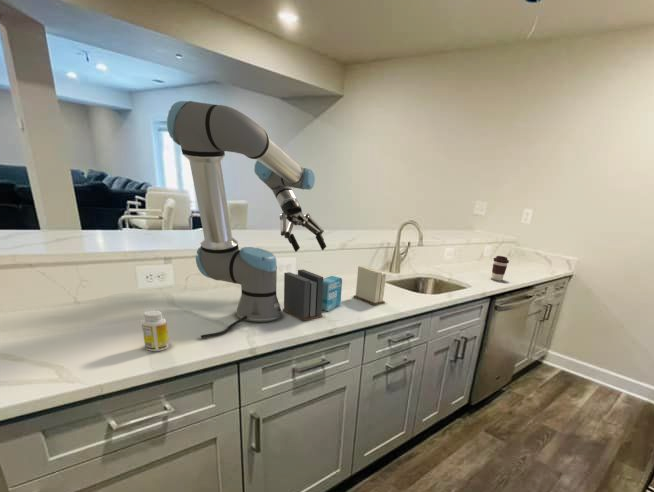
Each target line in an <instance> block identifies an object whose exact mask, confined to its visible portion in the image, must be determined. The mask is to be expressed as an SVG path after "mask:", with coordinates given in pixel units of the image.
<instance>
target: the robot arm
mask: <svg viewBox="0 0 654 492" xmlns="http://www.w3.org/2000/svg"><path fill="white" fill-rule="evenodd" d="M166 129H167V132H168V134H169V137H170V138H171V139H172V141H173V142H174V143H175V144H177V145H178V146H180V149H181V154H182V156H184V158H186V159H187V160H188V162H189V165H190V170H191V177H192V181H193V186H194V191H195V197H196V202H197V207H198V212H199V213H198V214H199V218H200V222H201V227H202V232H203V239H202V240H201V242H200V245H199V247H198V248H197V250H196V255H195V264H196V267H197V269H198V270H199V272H200V274H201V275H203V276H204V277H205V278H208V279H212V280H215V281H222V282H227V283H232V284H236V285H241V286H240V288H241V295H240V298H239V301H238V305H237V307H236V317H237V318H238V320H236V321H234V322H232V323H231V324H229V325H228V326H227V327H226V328H225V329H223V330H220V331H217V332H213V333H206V334H201V335H200V338H201V339H206V338H213V337H218V336H221V335H224V334H226V333H228V332H229V331H230V330H231V329H232V328H234V327H236V326H237V325H238V324H240V323H242V322H244V321H245V322H249V323H269V322H274V321H277V320H280V319H281V318H282V309H281V305H280V302H279V299H278V296H277V278H278V276H277V275H278V273H277V271H278V264H277V258H276V257H277V256H276V255H275V254H274V253H273V252H272V251H269V250H267V249H263V248H261V247H253V246H243V247H241V248H239V243H238V241H237V239H235V238H234V237H233V233H232V227H231V221H230V220H231V219H230V214H229V208H228V201H227V194H226V188H225V182H224V176H223V175H224V174H223V169H222V163H221V162H222V160H223V159H224V158H225V157H226V154H225V152H228V153H234V154H235V153H236V154H240V155H243V156H245V157H246V158H248V159H251V160H256V161H255V163H254V165H253V171H254V174H255V175H256V176H257V177H258V179H260V180H261V182H262V183H264V184H265V186H267V187H268V188H269V189H270V190H271V191H272V193H273V195H274V197H275V199H276V201H277V203H278V206H279V207H280V208H281V211H282V212H281V214H280V215H279V220H280V236H281V237H284V239H287V240H288V243H289V244H291V246H292V248H293V250H294V252H296V253H297V252H298V251H299V250H300V248H301V247H300V245H299V243H298V241H297V239H296V237H295V235H294V233H292V231H293V228H294V226H301V227H303V228H305V229H307V230H308V231H309V232H311V233H312V234H313V235H314V236H315V239H316V242H317V243H318V245H319V247H320V249H321V251H324V250H325V249H326V247H327V245H326V242H325V237H323V234H324V232H325V230H324V228H322V227H321V225H319V224H318V223H317V221H315V219H313V218H312V216H311V214H310V213H307V214H304V213H303V211H302V207H301V204H300V202H299V200H298V198H297V196H296V195H295V192H294V191H293V189H300V190H302V191H304V190H309V191H311V190H312V189H313V188H314V186H315V183H316V182H315V180H316V178H315V173H314V170H312V169H311V168H307V167H301V166H300V165H299V164H298V163H297V162H296V161H295V160H294V159H292V158H291V157H290V155H288V154H287V153H286V152H284V150H282V149H281V148H280V146H278V145H277V144H276V143H275V142H274V141H272V140H271V139H270V137H269V134H268V133H267V132H266V130H265V129H264V128H263V127H262V126H261V125H260V124H258V123H257V122H256V121H254V120H253V119H252V118H251V117H249V116H247V115H246V114H244V113H243V112H241V111H239V110H237V109H235V108H233V107H231V106H228V105H223V104H213V103H207V102H200V101H199V102H198V101H192V100H179V101H176V102H174V103H173V104H172V105H171V106H170V109H169V110H168V112H167V115H166ZM292 188H293V189H292ZM287 221H289V223H288V226H287Z"/></svg>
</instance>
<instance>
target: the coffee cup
mask: <svg viewBox="0 0 654 492" xmlns="http://www.w3.org/2000/svg"><path fill="white" fill-rule="evenodd" d="M509 263H510V260H509V259H508V257H506V256H503V255H496V256H495V257H493V264H492V269H491V280H494V281H499V282H501V281H503V278H504V276H505V273H506V271H507V268H508V264H509Z"/></svg>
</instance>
